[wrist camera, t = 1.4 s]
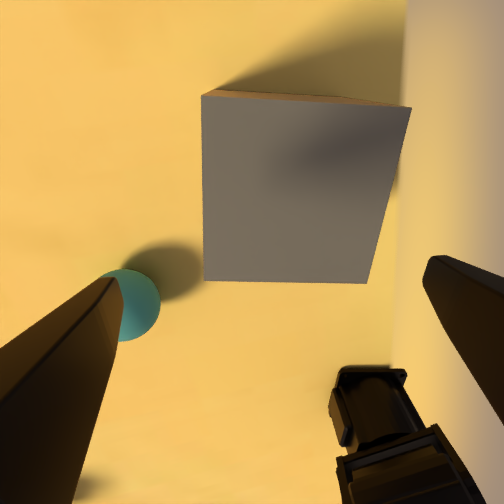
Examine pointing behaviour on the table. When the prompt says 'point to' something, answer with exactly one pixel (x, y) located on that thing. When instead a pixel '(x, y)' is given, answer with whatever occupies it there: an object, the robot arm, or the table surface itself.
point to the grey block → (295, 185)
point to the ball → (136, 303)
